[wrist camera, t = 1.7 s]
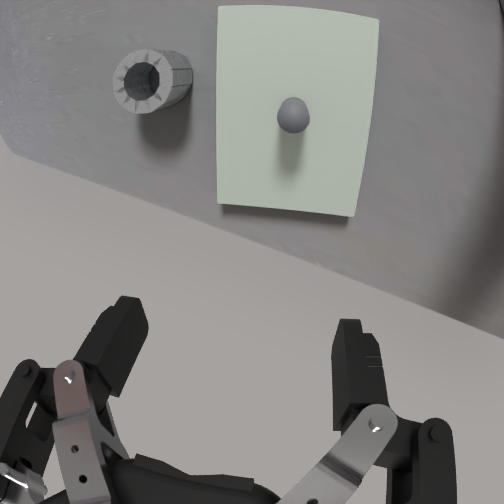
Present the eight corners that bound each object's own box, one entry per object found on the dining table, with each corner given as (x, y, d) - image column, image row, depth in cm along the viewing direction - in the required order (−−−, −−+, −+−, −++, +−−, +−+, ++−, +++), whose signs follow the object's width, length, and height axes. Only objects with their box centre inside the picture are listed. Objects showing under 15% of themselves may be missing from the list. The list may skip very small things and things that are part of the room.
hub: (138, 55, 24) (112, 55, 20) (192, 48, 23) (172, 45, 19) (139, 107, 27) (115, 116, 23) (192, 104, 27) (173, 111, 22)
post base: (223, 10, 21) (201, -7, 15) (373, 22, 19) (396, 9, 14) (221, 195, 32) (204, 227, 26) (350, 208, 31) (362, 243, 25)
